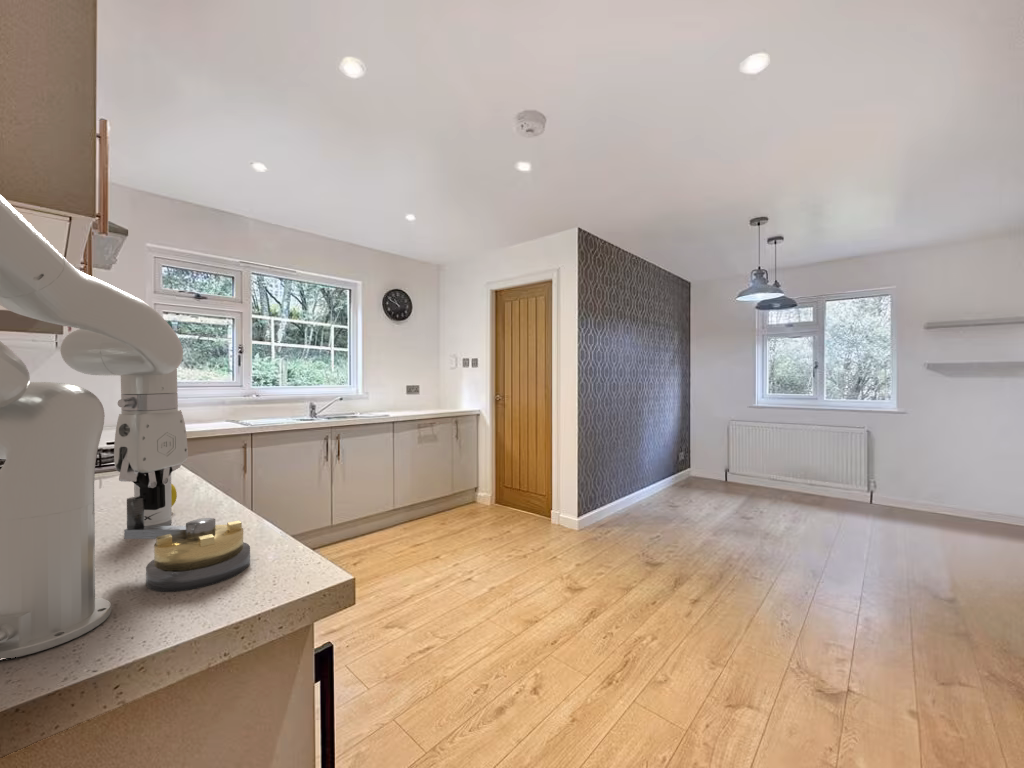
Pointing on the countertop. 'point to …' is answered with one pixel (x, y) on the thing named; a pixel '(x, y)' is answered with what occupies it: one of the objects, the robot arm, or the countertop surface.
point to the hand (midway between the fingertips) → (152, 508)
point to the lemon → (173, 494)
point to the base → (196, 574)
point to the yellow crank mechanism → (185, 539)
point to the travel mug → (160, 515)
